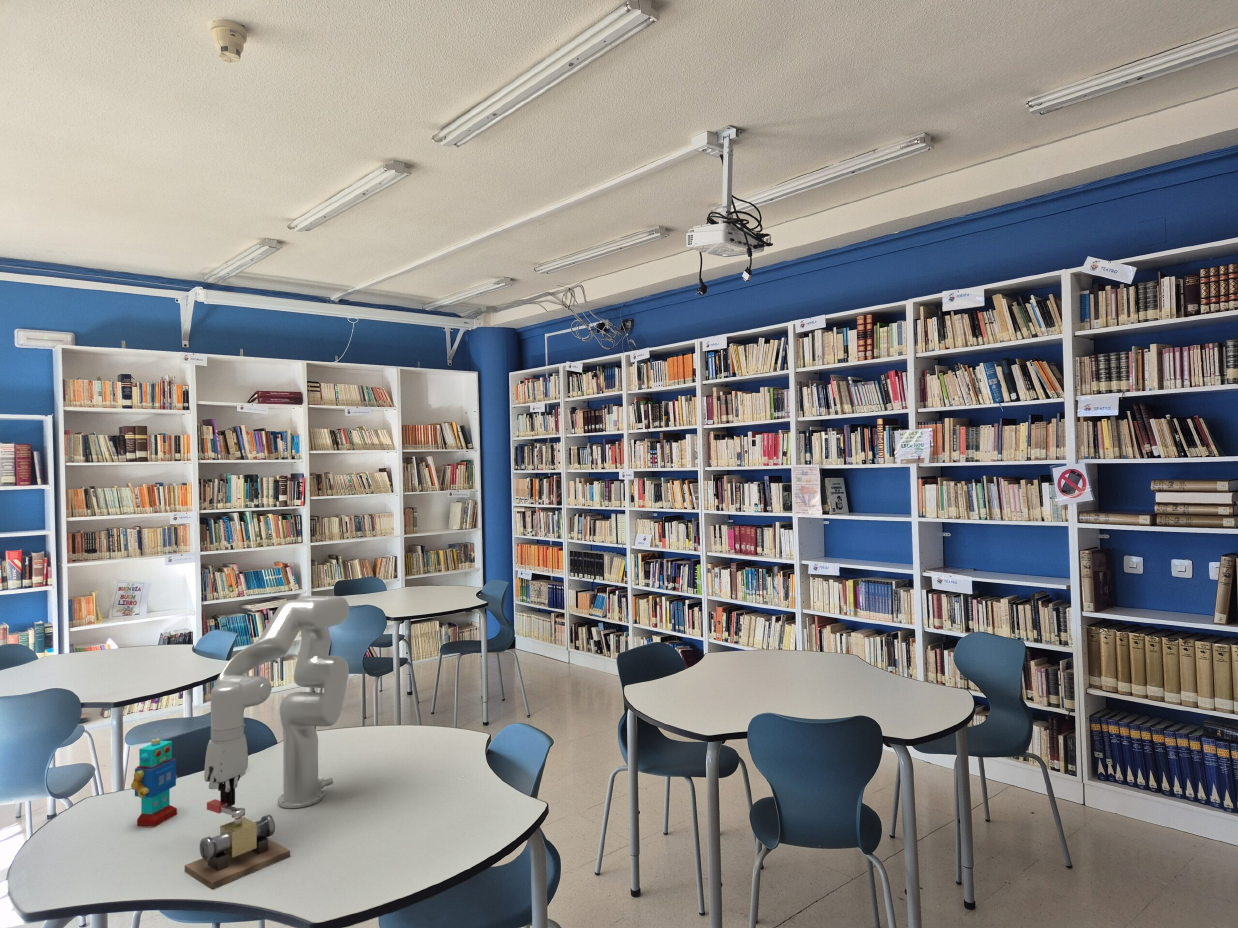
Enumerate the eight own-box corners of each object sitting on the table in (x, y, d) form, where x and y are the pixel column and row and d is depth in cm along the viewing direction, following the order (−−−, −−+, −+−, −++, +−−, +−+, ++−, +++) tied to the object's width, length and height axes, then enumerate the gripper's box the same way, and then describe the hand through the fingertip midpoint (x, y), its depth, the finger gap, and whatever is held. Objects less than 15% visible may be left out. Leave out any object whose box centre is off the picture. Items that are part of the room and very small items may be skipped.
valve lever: (247, 815, 187) (247, 807, 187) (236, 819, 184) (236, 812, 184) (216, 805, 193) (216, 798, 193) (205, 810, 190) (205, 802, 190)
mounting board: (261, 840, 198) (261, 835, 198) (290, 856, 189) (290, 850, 189) (184, 871, 183) (184, 864, 183) (212, 889, 174) (212, 882, 174)
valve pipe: (263, 841, 194) (263, 802, 195) (276, 847, 191) (276, 807, 191) (198, 867, 181) (198, 825, 182) (210, 874, 178) (210, 831, 178)
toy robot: (148, 829, 205) (149, 737, 206) (130, 828, 206) (130, 736, 207) (181, 811, 216) (181, 723, 217) (163, 810, 218) (163, 722, 218)
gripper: (238, 722, 202) (239, 791, 201) (191, 741, 187) (191, 815, 187) (261, 725, 199) (261, 795, 199) (214, 744, 185) (215, 819, 185)
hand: (227, 804), depth 193 cm, fingers closed
